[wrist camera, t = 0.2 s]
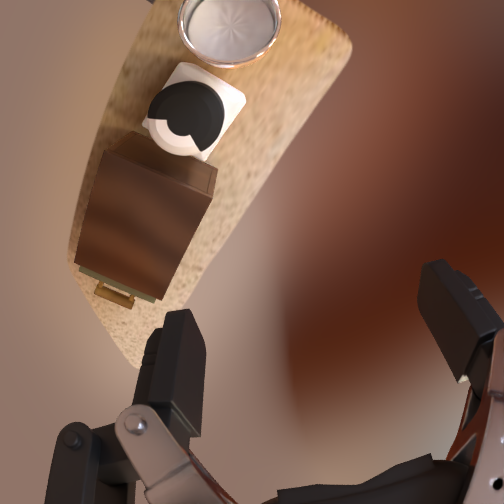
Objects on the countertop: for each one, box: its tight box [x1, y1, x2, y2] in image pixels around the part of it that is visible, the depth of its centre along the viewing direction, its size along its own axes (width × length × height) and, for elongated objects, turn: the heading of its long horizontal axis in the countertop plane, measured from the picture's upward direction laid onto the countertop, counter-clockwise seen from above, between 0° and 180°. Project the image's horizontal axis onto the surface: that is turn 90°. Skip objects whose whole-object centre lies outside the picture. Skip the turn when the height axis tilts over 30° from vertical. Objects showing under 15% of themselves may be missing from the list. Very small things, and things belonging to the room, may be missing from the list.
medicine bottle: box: [142, 62, 246, 161], centre depth 27 cm, size 7×7×12 cm
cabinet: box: [74, 131, 218, 301], centre depth 34 cm, size 14×11×9 cm
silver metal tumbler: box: [177, 0, 281, 69], centre depth 22 cm, size 7×7×15 cm
